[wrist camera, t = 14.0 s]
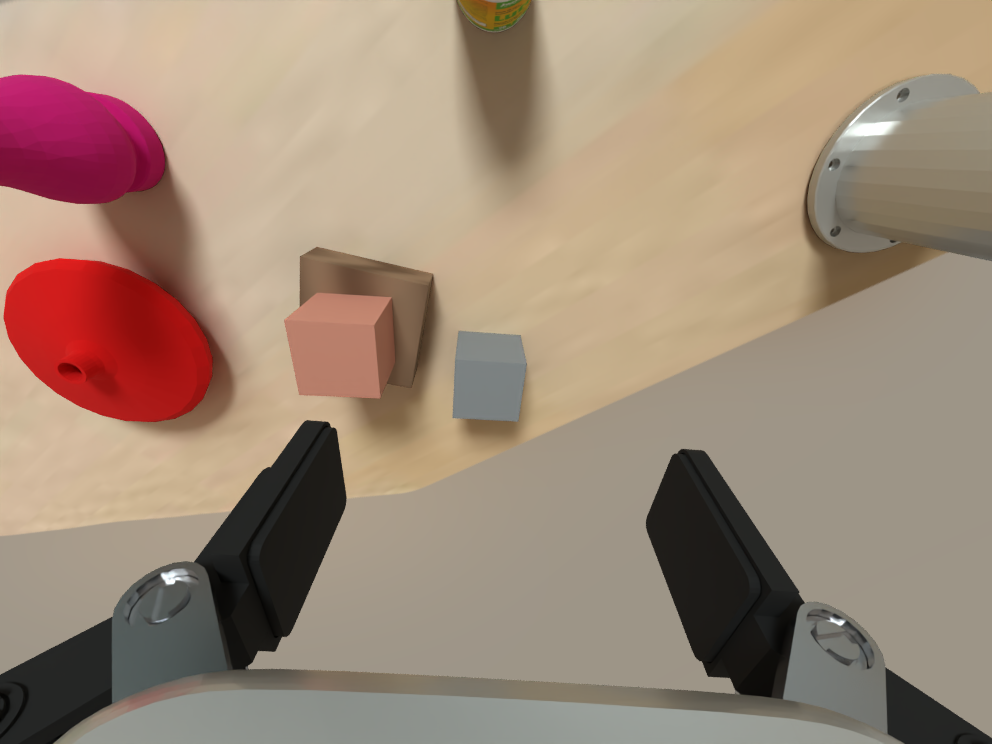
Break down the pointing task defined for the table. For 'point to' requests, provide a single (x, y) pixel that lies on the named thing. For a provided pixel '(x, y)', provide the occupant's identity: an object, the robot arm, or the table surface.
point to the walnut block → (375, 279)
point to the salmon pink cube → (342, 345)
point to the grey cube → (488, 376)
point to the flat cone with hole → (108, 340)
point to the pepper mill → (73, 142)
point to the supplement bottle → (494, 13)
